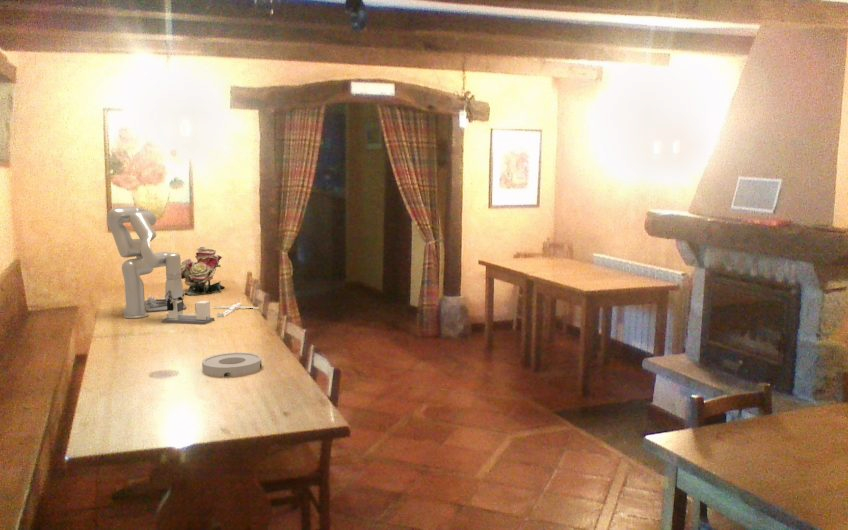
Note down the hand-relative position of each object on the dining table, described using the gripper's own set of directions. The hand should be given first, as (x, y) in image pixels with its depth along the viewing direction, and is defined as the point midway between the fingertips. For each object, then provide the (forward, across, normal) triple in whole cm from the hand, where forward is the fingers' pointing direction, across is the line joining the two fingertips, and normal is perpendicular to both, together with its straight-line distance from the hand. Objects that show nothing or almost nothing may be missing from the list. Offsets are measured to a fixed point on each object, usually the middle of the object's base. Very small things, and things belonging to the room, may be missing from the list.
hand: (175, 308), depth 382 cm
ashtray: (+7, +78, +73) cm, 107 cm away
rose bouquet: (+7, -82, -31) cm, 88 cm away
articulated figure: (+7, -28, +17) cm, 34 cm away
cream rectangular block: (+5, 0, 0) cm, 5 cm away
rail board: (+7, 0, +7) cm, 10 cm away
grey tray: (+7, -35, -29) cm, 46 cm away
